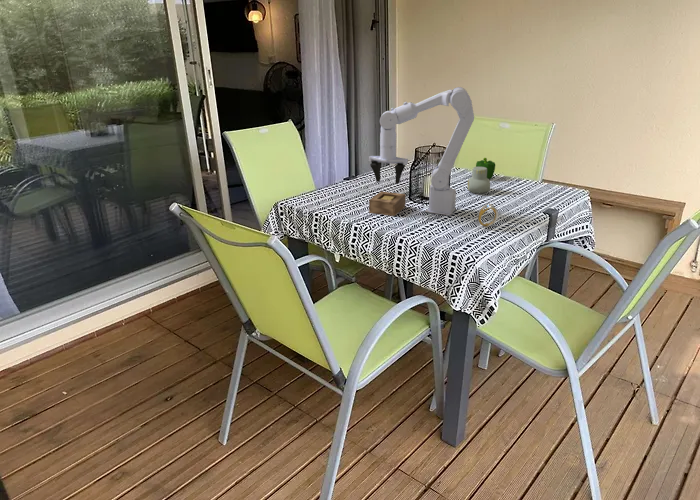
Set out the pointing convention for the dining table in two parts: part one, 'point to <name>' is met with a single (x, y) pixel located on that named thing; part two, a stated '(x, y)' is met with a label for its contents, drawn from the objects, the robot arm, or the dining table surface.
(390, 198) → the yellow cube
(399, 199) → the wooden box
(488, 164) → the bell pepper
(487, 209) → the bracelet
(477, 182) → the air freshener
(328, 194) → the dining table surface
